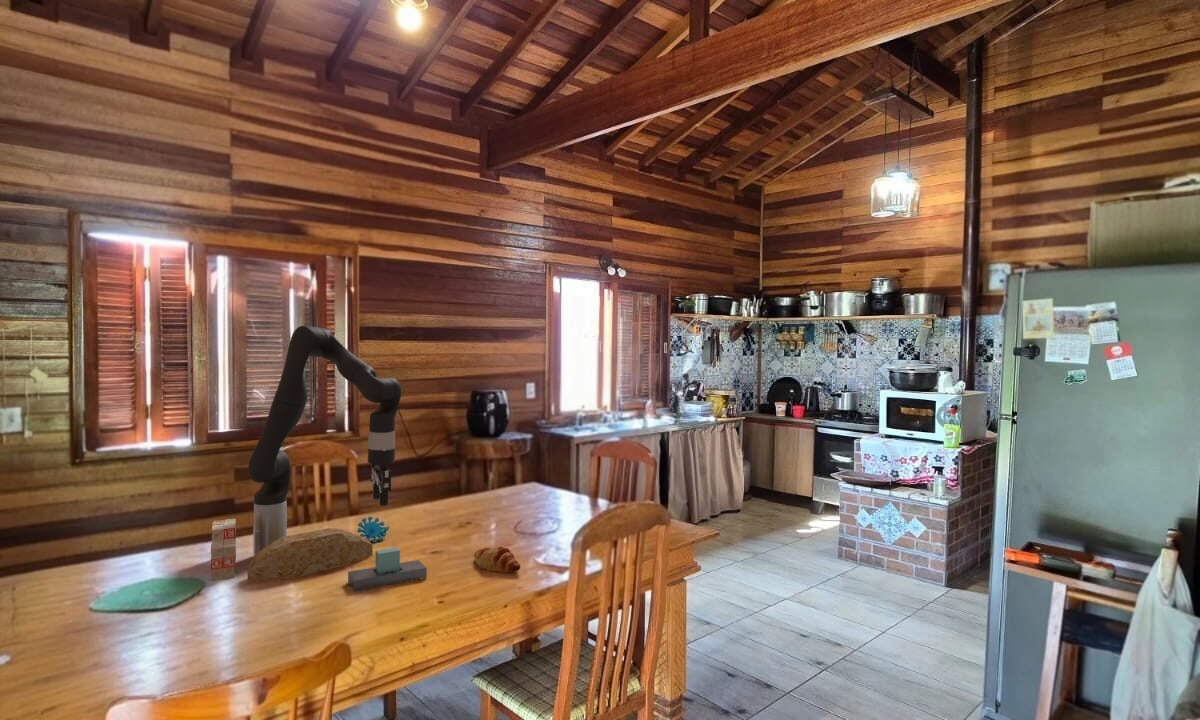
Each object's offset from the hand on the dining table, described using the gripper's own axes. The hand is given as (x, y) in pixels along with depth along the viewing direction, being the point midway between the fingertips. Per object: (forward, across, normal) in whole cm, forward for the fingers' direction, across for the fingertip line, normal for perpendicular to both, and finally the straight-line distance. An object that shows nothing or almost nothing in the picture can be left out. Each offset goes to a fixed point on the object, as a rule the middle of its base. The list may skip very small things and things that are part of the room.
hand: (380, 502), depth 194 cm
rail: (+21, +6, +1) cm, 22 cm away
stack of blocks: (+23, -28, -38) cm, 53 cm away
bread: (+22, -16, -15) cm, 32 cm away
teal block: (+21, +6, +1) cm, 22 cm away
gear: (+22, -35, +6) cm, 42 cm away
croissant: (+21, +11, +33) cm, 40 cm away
